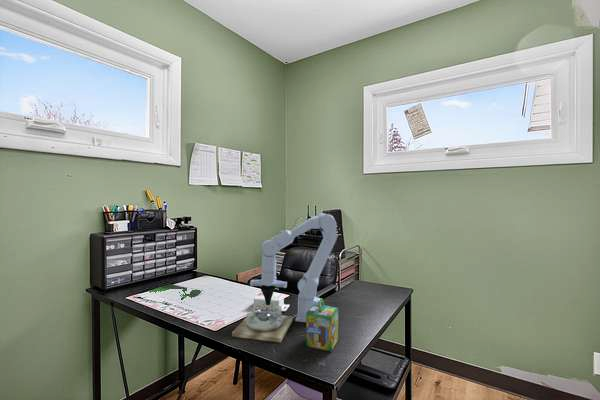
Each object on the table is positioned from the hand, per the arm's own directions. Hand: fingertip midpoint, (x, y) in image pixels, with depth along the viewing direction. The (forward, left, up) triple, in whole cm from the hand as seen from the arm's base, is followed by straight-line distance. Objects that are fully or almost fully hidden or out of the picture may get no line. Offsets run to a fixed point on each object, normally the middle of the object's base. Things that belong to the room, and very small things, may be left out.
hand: (268, 304), depth 114 cm
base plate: (-1, +6, -7) cm, 9 cm away
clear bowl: (-1, +6, -5) cm, 8 cm away
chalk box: (-24, +12, -7) cm, 27 cm away
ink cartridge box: (+10, -14, -4) cm, 18 cm away
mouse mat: (+57, -18, -7) cm, 61 cm away
